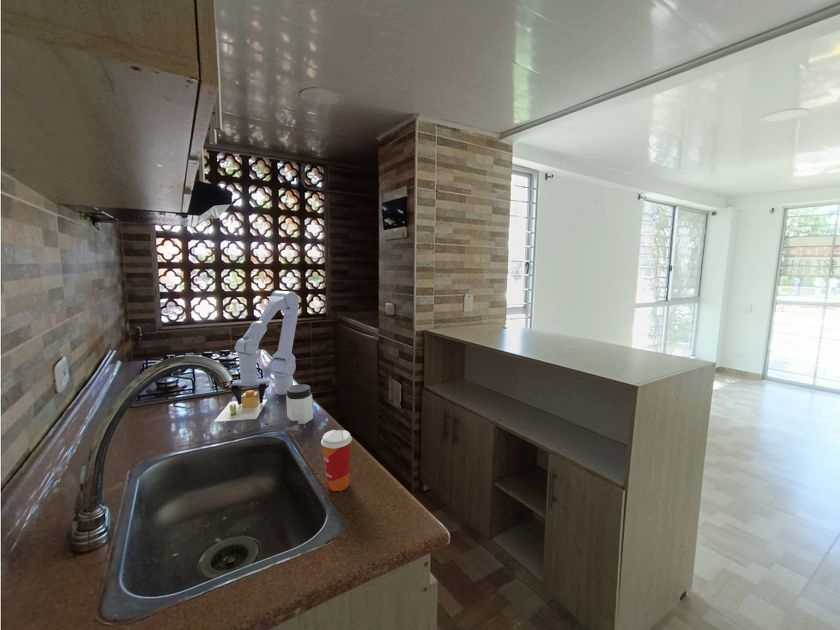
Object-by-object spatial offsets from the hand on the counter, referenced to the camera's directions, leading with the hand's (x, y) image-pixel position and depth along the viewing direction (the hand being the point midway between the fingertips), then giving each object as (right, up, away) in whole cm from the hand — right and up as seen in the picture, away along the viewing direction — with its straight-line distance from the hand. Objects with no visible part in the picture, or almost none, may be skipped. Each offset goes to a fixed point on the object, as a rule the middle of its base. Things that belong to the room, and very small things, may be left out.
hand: (250, 403), depth 145 cm
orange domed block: (0, -1, 0) cm, 1 cm away
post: (-3, -2, -8) cm, 9 cm away
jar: (+22, -4, -9) cm, 24 cm away
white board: (-1, -3, -4) cm, 5 cm away
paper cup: (+44, -11, -47) cm, 65 cm away
